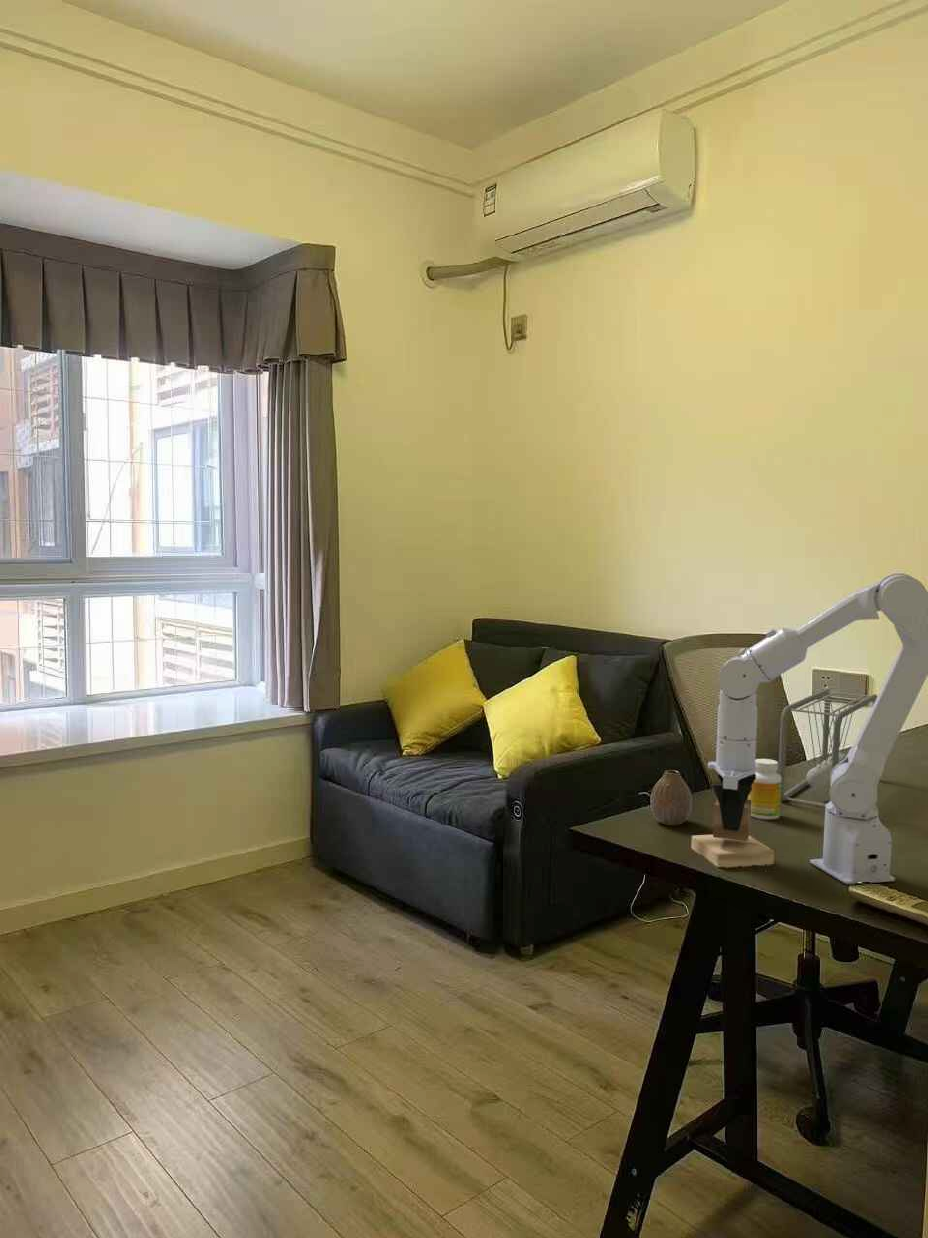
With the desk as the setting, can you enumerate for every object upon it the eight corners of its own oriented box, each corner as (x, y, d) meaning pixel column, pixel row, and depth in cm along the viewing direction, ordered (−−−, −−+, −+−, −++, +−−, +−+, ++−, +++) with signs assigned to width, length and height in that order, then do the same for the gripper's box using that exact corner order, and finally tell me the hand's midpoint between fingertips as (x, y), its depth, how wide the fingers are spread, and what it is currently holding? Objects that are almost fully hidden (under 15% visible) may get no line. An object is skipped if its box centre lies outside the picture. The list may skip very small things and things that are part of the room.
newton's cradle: (835, 813, 174) (840, 714, 173) (776, 803, 180) (780, 707, 179) (874, 780, 199) (879, 693, 197) (821, 771, 205) (826, 687, 203)
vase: (696, 820, 168) (698, 770, 168) (683, 831, 162) (685, 778, 162) (657, 814, 172) (659, 764, 171) (643, 824, 166) (645, 773, 165)
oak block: (773, 867, 147) (774, 851, 146) (717, 871, 145) (718, 854, 145) (744, 848, 155) (744, 832, 155) (691, 851, 154) (691, 835, 153)
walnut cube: (747, 841, 147) (748, 808, 146) (713, 837, 148) (714, 804, 148) (750, 831, 151) (751, 800, 151) (716, 828, 153) (718, 796, 153)
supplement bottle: (781, 821, 169) (784, 765, 168) (749, 819, 170) (751, 763, 169) (778, 812, 174) (780, 758, 173) (746, 810, 175) (748, 756, 174)
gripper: (715, 725, 157) (711, 809, 158) (703, 743, 143) (699, 834, 144) (761, 729, 154) (757, 814, 155) (753, 748, 141) (749, 841, 142)
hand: (732, 824), depth 150 cm, fingers closed on walnut cube, 5 cm apart
